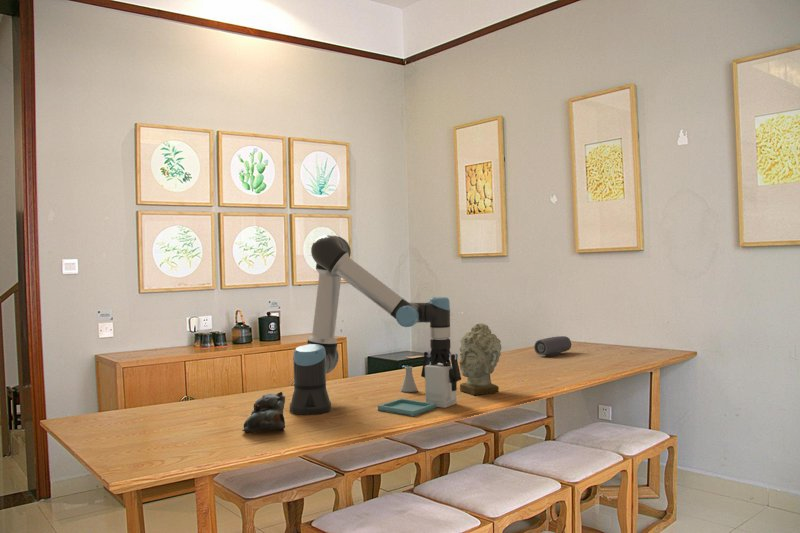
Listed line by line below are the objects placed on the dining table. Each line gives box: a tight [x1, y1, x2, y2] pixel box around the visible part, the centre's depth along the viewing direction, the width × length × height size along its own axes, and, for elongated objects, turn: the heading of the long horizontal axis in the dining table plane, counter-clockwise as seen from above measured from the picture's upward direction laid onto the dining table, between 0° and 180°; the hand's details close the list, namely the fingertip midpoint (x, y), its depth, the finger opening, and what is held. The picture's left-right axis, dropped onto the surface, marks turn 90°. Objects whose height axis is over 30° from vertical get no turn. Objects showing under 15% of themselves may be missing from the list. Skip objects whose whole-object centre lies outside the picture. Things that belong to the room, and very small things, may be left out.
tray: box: [377, 398, 437, 417], centre depth 237 cm, size 14×16×2 cm
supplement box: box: [424, 363, 458, 409], centre depth 244 cm, size 9×9×15 cm
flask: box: [400, 366, 418, 393], centre depth 270 cm, size 7×7×10 cm
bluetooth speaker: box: [534, 335, 572, 357], centre depth 359 cm, size 23×9×10 cm, turn 130°
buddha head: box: [458, 323, 502, 397], centre depth 266 cm, size 17×19×28 cm
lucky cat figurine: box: [242, 391, 286, 433], centre depth 212 cm, size 15×12×14 cm
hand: (441, 397), depth 244 cm, fingers closed on supplement box, 9 cm apart
